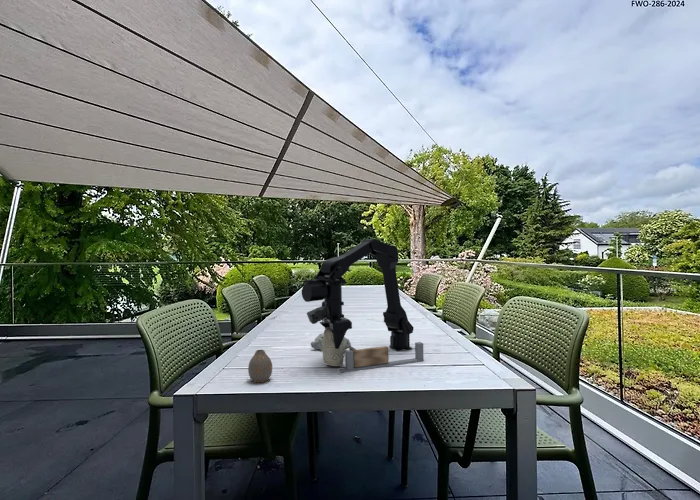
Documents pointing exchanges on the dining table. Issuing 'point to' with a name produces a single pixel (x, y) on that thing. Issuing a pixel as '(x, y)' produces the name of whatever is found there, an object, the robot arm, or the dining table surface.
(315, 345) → the rock
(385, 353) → the brown boxy piece
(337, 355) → the carving
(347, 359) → the grey bracket bar
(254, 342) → the dining table surface
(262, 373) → the vase
